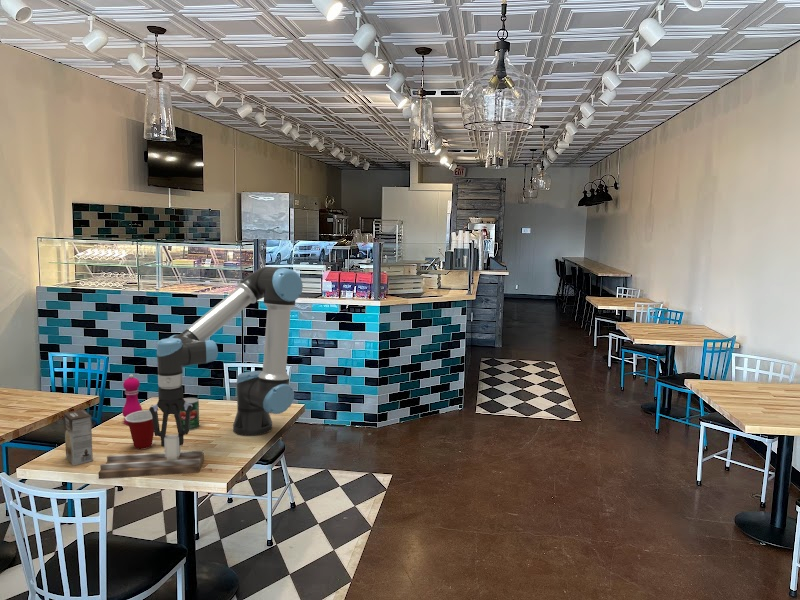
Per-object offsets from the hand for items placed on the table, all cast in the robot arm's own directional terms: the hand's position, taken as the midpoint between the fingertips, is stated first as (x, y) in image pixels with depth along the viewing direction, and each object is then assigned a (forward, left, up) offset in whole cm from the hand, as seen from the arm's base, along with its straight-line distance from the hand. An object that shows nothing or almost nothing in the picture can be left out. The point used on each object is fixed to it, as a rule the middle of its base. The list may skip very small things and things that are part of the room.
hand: (172, 454), depth 189 cm
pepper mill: (+24, -48, -4) cm, 54 cm away
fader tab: (0, 0, -2) cm, 2 cm away
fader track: (+6, 0, -4) cm, 7 cm away
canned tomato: (+1, -39, -4) cm, 39 cm away
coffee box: (+32, -11, -4) cm, 34 cm away
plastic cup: (+14, -20, -4) cm, 25 cm away
